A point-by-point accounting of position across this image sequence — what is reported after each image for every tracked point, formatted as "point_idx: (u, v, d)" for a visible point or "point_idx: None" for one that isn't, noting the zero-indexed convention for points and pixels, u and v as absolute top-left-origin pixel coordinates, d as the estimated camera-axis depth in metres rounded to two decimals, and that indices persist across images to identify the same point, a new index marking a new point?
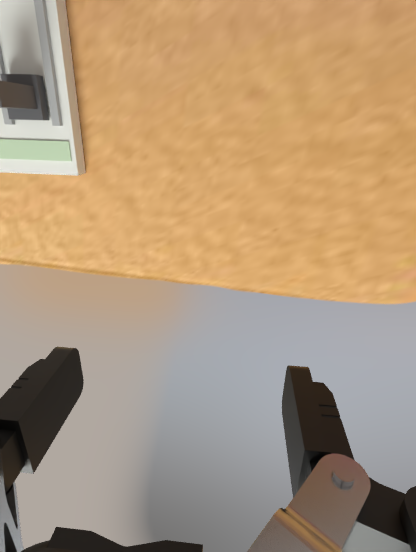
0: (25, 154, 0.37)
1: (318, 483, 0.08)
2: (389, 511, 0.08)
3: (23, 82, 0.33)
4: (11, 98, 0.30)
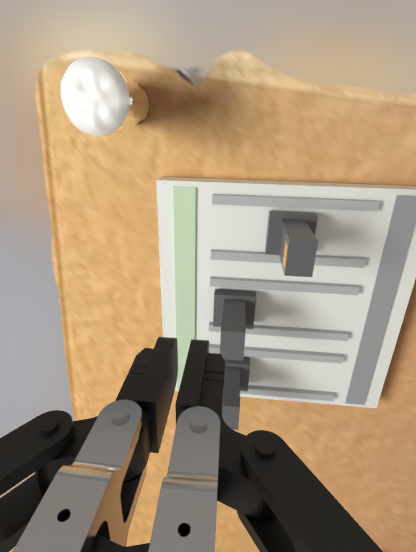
0: (181, 353, 0.37)
1: (183, 439, 0.09)
2: (234, 451, 0.09)
3: (242, 381, 0.36)
4: None
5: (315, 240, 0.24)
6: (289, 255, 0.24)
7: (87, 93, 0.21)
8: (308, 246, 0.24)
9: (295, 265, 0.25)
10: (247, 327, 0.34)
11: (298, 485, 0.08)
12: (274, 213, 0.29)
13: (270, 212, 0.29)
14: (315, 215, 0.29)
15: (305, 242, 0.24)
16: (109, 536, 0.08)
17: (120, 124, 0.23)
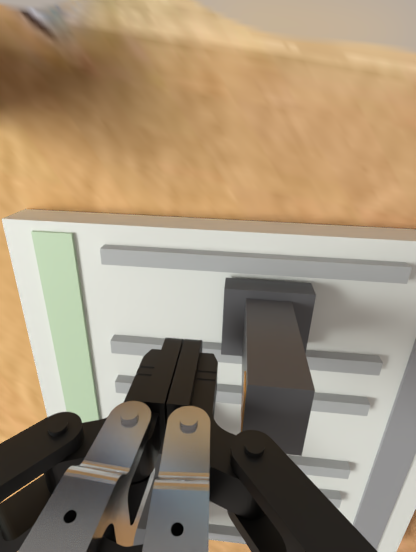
0: None
1: (174, 439, 0.09)
2: (224, 451, 0.09)
3: None
4: None
5: (309, 388, 0.10)
6: (250, 414, 0.11)
7: None
8: (292, 400, 0.10)
9: (265, 433, 0.11)
10: None
11: (287, 483, 0.08)
12: (233, 287, 0.15)
13: (226, 283, 0.16)
14: (311, 292, 0.15)
15: (285, 391, 0.10)
16: (115, 539, 0.08)
17: None
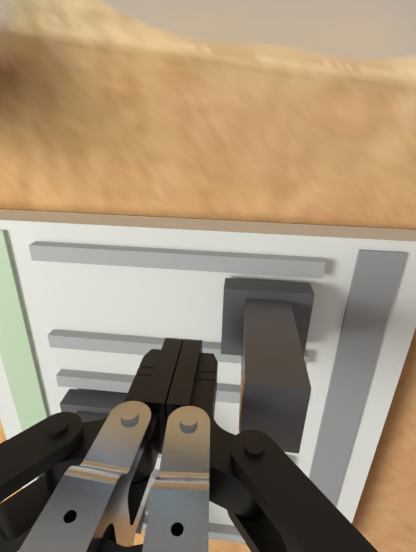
0: None
1: (173, 439, 0.09)
2: (224, 451, 0.09)
3: None
4: None
5: (305, 387, 0.10)
6: (248, 411, 0.11)
7: None
8: (289, 398, 0.10)
9: (262, 431, 0.11)
10: None
11: (287, 483, 0.08)
12: (233, 287, 0.15)
13: (226, 284, 0.16)
14: (309, 292, 0.15)
15: (282, 390, 0.10)
16: (115, 539, 0.08)
17: None
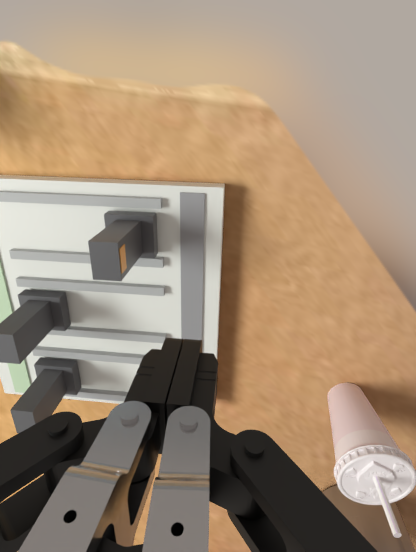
0: None
1: (174, 439, 0.09)
2: (224, 451, 0.09)
3: (68, 384, 0.35)
4: None
5: (115, 242, 0.22)
6: (93, 257, 0.23)
7: None
8: (109, 248, 0.22)
9: (101, 269, 0.23)
10: (58, 329, 0.32)
11: (287, 483, 0.08)
12: (109, 213, 0.27)
13: (107, 212, 0.28)
14: (151, 215, 0.27)
15: (105, 244, 0.22)
16: (115, 539, 0.08)
17: None
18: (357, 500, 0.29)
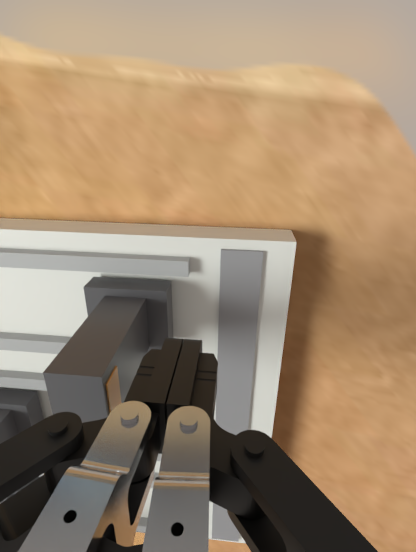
0: None
1: (173, 439, 0.09)
2: (224, 451, 0.09)
3: None
4: None
5: (97, 375, 0.11)
6: (54, 400, 0.12)
7: None
8: (86, 386, 0.11)
9: None
10: None
11: (287, 483, 0.08)
12: (93, 285, 0.16)
13: (89, 282, 0.17)
14: (164, 289, 0.16)
15: (78, 378, 0.11)
16: (115, 539, 0.08)
17: None
18: None
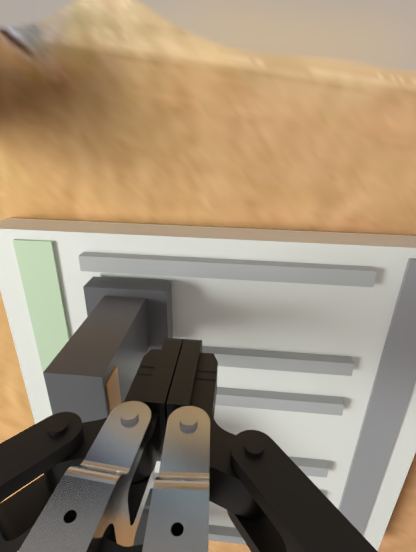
0: None
1: (173, 439, 0.09)
2: (224, 451, 0.09)
3: None
4: None
5: (97, 375, 0.11)
6: (54, 399, 0.12)
7: None
8: (86, 386, 0.11)
9: None
10: None
11: (287, 483, 0.08)
12: (93, 285, 0.16)
13: (89, 282, 0.17)
14: (163, 289, 0.16)
15: (78, 378, 0.11)
16: (115, 539, 0.08)
17: None
18: None
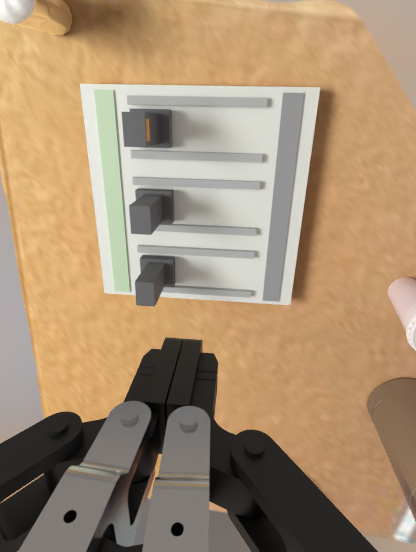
0: (115, 254, 0.42)
1: (174, 439, 0.09)
2: (224, 451, 0.09)
3: (167, 276, 0.41)
4: None
5: (142, 112, 0.29)
6: (124, 126, 0.29)
7: None
8: (138, 117, 0.29)
9: (131, 136, 0.30)
10: (166, 222, 0.38)
11: (287, 483, 0.08)
12: None
13: None
14: None
15: (135, 114, 0.29)
16: (115, 539, 0.08)
17: (29, 11, 0.27)
18: None
